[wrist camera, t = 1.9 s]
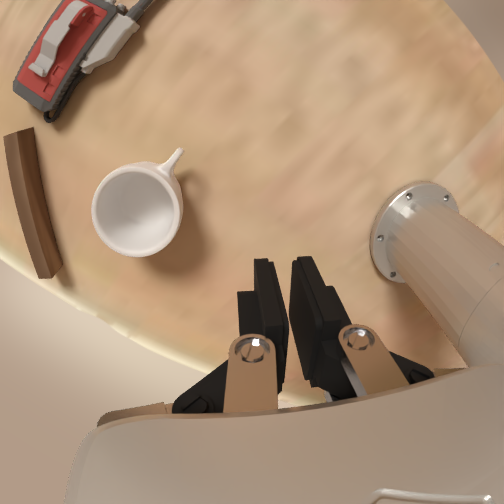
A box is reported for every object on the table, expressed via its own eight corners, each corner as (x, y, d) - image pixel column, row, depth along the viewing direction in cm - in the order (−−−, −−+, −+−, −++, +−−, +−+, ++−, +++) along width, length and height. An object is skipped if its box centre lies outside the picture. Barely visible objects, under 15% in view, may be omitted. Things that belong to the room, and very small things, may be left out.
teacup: (159, 245, 30) (147, 273, 25) (99, 202, 27) (76, 223, 22) (220, 168, 27) (218, 184, 22) (154, 118, 24) (137, 123, 19)
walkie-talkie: (71, 132, 24) (199, -32, 17) (49, 139, 20) (195, -52, 13) (19, 95, 21) (134, -61, 14) (-6, 98, 17) (121, -79, 10)
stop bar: (33, 127, 22) (16, 131, 20) (62, 264, 30) (51, 278, 27) (20, 131, 22) (3, 136, 19) (50, 264, 30) (38, 278, 27)
